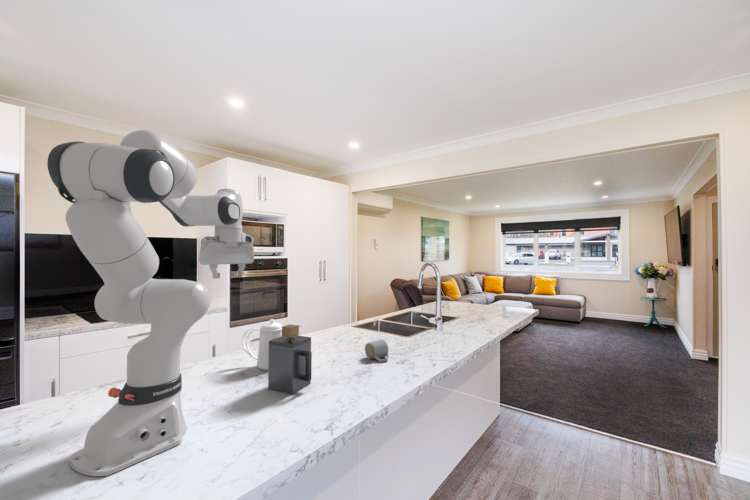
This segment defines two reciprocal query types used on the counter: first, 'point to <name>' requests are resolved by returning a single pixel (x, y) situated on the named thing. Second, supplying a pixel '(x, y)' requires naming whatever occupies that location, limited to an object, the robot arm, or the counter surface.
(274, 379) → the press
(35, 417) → the counter surface
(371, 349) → the ceramic mug
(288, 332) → the plunger
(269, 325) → the coffeepot
